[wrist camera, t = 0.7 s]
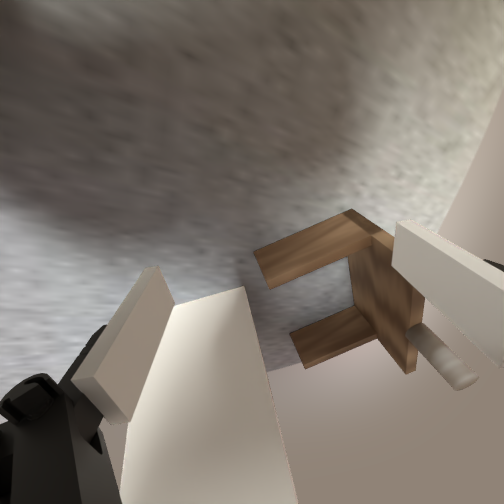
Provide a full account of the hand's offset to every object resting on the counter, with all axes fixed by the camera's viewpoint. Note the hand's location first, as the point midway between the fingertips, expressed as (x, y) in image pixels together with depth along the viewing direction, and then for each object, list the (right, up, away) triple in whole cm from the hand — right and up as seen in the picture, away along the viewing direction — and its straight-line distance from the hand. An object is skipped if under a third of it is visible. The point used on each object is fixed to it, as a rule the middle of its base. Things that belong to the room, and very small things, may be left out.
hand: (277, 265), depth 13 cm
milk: (-7, -9, +17) cm, 21 cm away
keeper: (+7, -3, +17) cm, 19 cm away
